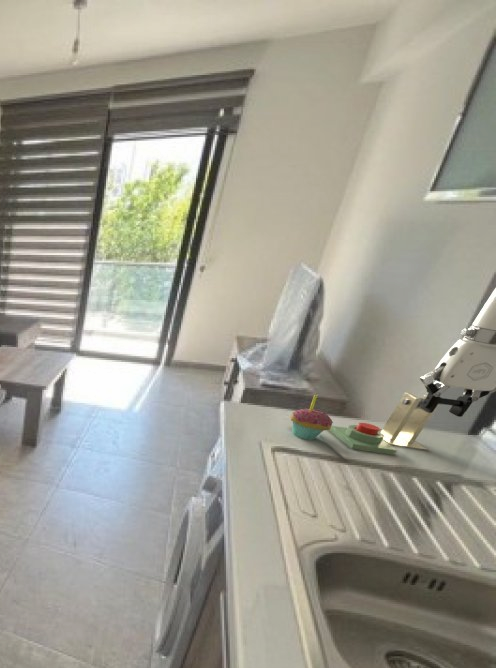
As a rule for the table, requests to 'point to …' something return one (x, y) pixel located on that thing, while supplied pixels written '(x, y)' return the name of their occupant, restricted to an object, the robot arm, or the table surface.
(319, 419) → the cupcake
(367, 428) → the button
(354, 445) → the button box
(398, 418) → the bracket
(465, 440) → the table surface
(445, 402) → the lever
